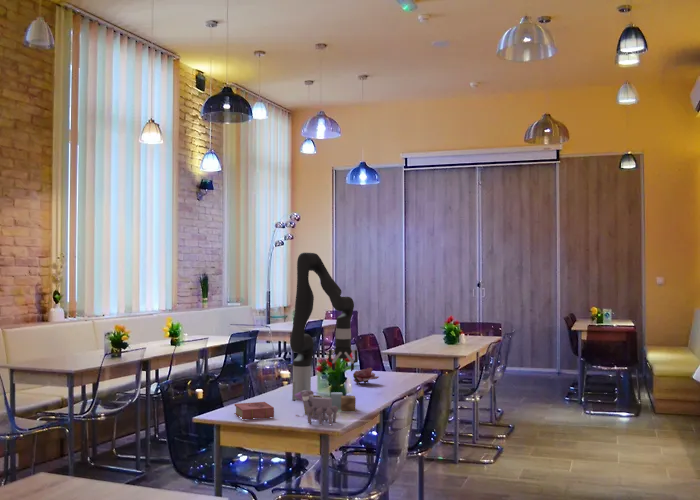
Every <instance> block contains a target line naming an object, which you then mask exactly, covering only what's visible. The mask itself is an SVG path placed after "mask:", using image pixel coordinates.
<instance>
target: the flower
mask: <svg viewBox="0 0 700 500" xmlns="http://www.w3.org/2000/svg"><path fill="white" fill-rule="evenodd" d="M352 374H353V377H352V378H353V381H354V382H355V384H359V385H361V383H362V382H363V383H364V385H366V383H367V384H369V381H370V380H378V379H379V378H380V376H378V375H377V376H376V373H374V372H373V368H372V367H367V368H363V369H361V370H359V369H358V370H356V371H354V373H352Z"/></svg>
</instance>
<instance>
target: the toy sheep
mask: <svg viewBox="0 0 700 500" xmlns="http://www.w3.org/2000/svg"><path fill="white" fill-rule="evenodd" d="M314 395H315V394H314V391H313V390H310V391H308V390H303V391H300V392H299V393H297V394H295V395H294V396H296V397H297V398H299V399H298V400H300V401H302V403H303V407H304V406H305V407H308V408H307V409H306V413H307V414H308V415H307V423H310V424H312V419H316V418H317V416H318V425H319V424H322V425H323V421H322V420H325V421H326V416H328V425H329V424H332V425H333V421H336V420H337V413H338V412H337V411H338V407H337V406H333V407H332V398H331V397H323V396H322V397H313V396H314ZM311 406H312V407H311ZM312 412H313V415H311V413H312ZM316 413H317V415H316Z"/></svg>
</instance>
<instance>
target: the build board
mask: <svg viewBox="0 0 700 500" xmlns="http://www.w3.org/2000/svg"><path fill="white" fill-rule="evenodd" d="M337 413H357V410H356V409H355V411H341V407H338V411H337Z"/></svg>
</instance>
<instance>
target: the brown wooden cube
mask: <svg viewBox="0 0 700 500" xmlns="http://www.w3.org/2000/svg"><path fill="white" fill-rule="evenodd" d="M356 400H357V399H356V395H343V396H341V411H355V410H356V402H357V401H356Z"/></svg>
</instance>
